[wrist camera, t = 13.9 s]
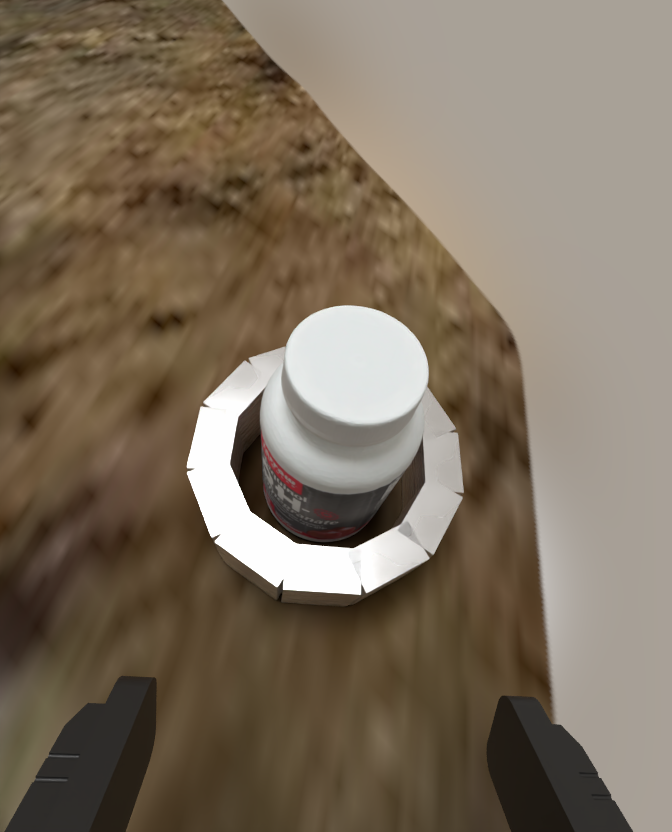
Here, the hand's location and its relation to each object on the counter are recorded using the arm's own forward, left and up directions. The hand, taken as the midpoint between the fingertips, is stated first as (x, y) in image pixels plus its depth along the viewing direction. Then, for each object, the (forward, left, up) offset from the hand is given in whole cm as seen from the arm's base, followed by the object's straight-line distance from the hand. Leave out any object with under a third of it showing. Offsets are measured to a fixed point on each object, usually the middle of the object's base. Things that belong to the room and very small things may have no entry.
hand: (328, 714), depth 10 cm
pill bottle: (-4, +7, -7) cm, 11 cm away
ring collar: (-4, +7, -7) cm, 11 cm away
